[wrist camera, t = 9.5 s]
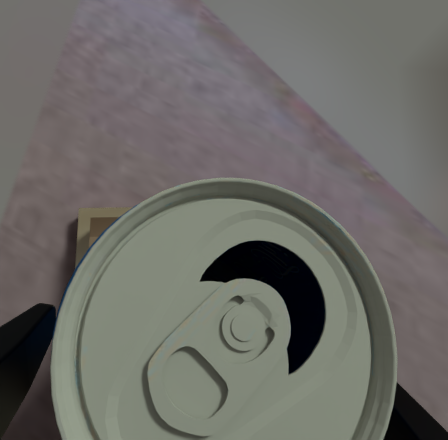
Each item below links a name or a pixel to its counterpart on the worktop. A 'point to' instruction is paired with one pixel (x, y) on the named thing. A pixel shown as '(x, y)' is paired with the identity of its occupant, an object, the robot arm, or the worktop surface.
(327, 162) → the worktop surface
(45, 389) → the worktop surface
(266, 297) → the beverage can
